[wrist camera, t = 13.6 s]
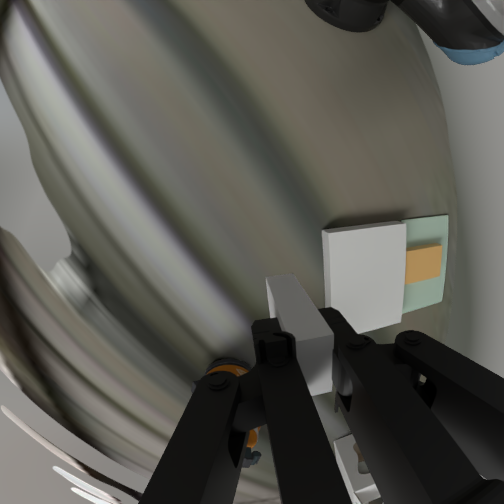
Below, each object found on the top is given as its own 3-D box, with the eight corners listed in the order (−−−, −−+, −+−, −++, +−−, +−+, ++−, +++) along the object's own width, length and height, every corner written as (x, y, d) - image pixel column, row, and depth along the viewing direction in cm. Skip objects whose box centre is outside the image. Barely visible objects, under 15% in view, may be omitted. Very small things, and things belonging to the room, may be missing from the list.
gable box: (335, 461, 59) (363, 536, 31) (332, 440, 55) (365, 527, 28) (404, 432, 59) (444, 496, 32) (409, 407, 55) (459, 478, 28)
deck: (321, 229, 42) (328, 233, 39) (396, 220, 42) (406, 223, 39) (325, 331, 46) (331, 340, 43) (392, 315, 47) (400, 321, 44)
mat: (401, 220, 42) (402, 220, 42) (447, 214, 43) (448, 215, 43) (397, 313, 47) (398, 314, 47) (440, 300, 47) (441, 301, 47)
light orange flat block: (398, 281, 45) (404, 284, 43) (400, 248, 43) (406, 251, 41) (433, 272, 45) (439, 276, 43) (435, 242, 44) (442, 245, 42)
